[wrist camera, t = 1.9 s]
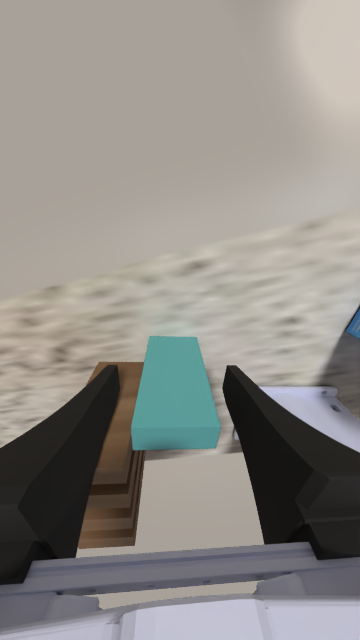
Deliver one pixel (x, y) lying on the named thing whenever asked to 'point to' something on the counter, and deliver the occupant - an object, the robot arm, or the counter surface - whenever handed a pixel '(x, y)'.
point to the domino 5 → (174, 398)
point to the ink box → (355, 326)
